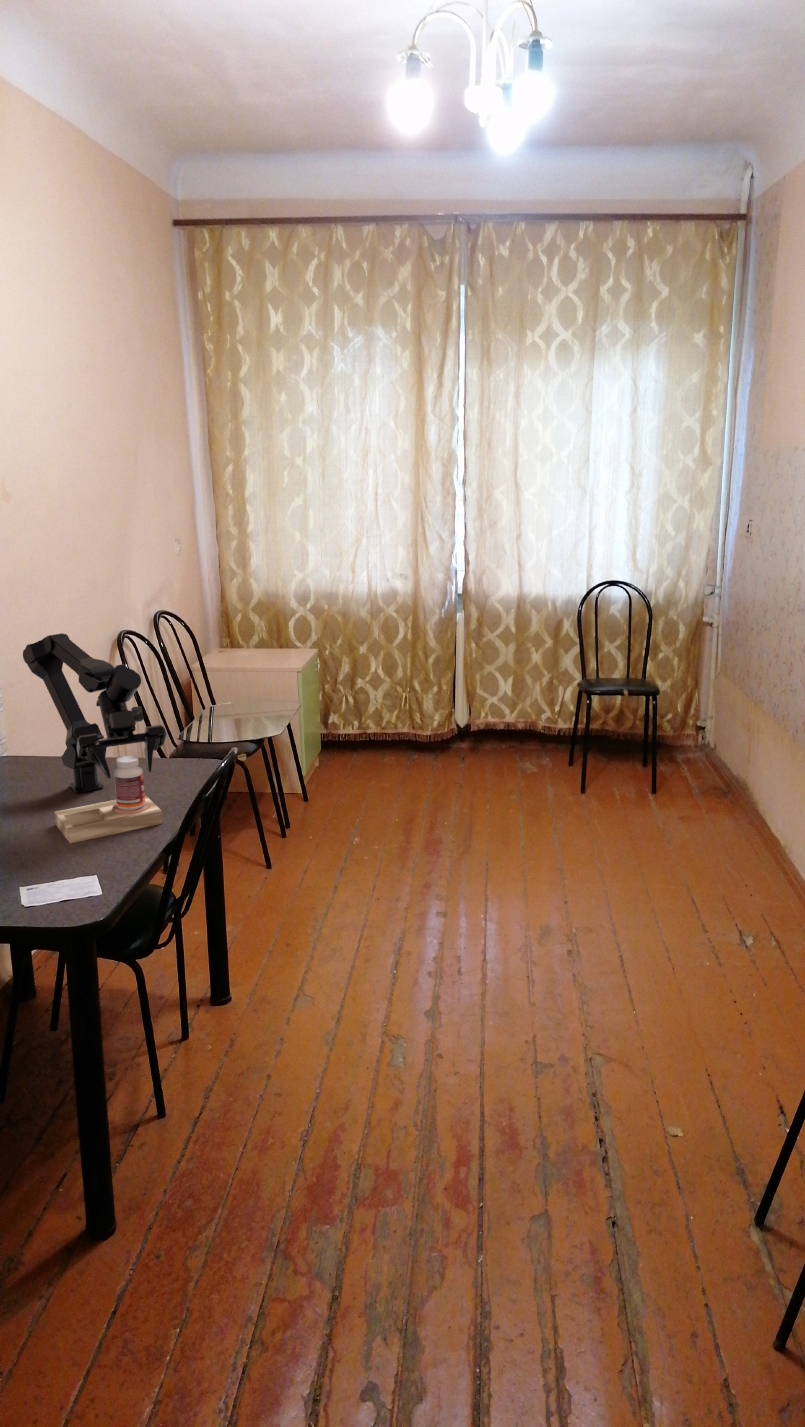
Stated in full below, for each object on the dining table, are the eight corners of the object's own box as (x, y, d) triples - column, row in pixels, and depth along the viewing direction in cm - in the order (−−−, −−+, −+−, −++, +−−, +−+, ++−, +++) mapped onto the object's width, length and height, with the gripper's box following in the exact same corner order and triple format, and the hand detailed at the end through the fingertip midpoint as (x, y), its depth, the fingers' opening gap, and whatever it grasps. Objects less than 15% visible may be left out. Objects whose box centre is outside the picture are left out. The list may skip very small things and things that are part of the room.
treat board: (55, 824, 210) (54, 810, 209) (145, 806, 220) (144, 792, 219) (69, 843, 200) (68, 828, 199) (162, 823, 211) (161, 809, 210)
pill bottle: (149, 807, 211) (146, 760, 208) (121, 813, 207) (117, 765, 204) (140, 798, 216) (136, 752, 213) (113, 804, 212) (108, 757, 209)
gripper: (73, 700, 204) (88, 764, 197) (161, 690, 212) (177, 751, 206) (71, 726, 213) (84, 788, 206) (155, 715, 221) (170, 774, 215)
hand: (130, 775), depth 208 cm, fingers open, 8 cm apart
